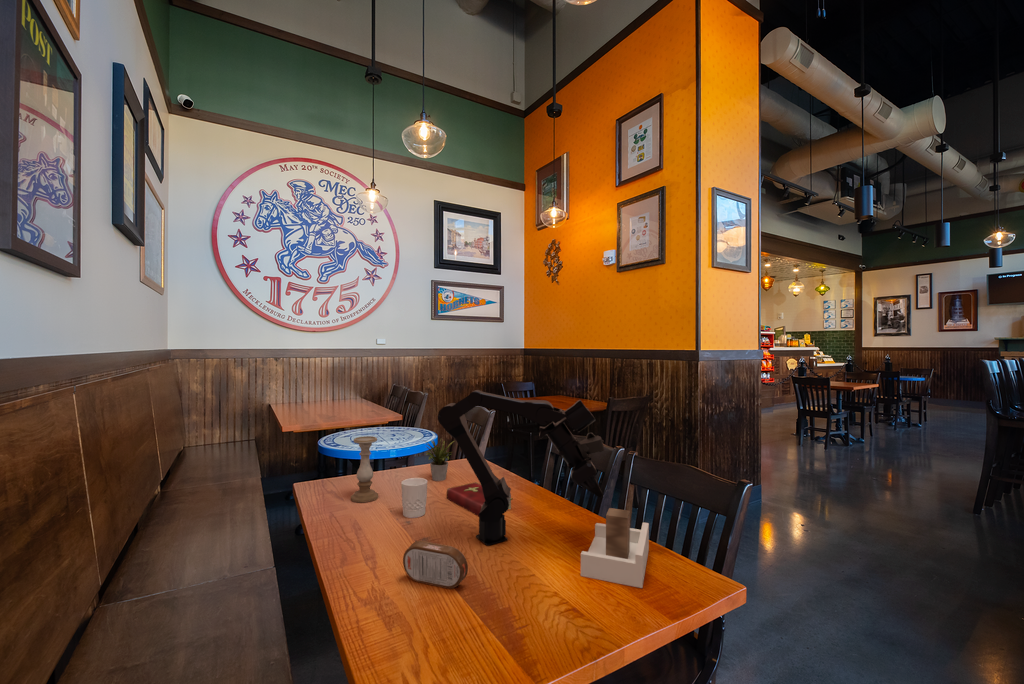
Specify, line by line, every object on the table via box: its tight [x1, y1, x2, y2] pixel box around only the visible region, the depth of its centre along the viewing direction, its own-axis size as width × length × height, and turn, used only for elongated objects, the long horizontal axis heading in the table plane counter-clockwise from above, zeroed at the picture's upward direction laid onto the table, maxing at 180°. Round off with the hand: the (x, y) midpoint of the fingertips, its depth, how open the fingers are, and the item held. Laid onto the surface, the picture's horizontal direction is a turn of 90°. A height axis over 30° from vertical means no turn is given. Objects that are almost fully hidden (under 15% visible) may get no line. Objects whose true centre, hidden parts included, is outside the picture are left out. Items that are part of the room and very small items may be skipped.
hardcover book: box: [446, 481, 513, 517], centre depth 145 cm, size 12×21×4 cm, turn 39°
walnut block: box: [605, 507, 631, 559], centre depth 107 cm, size 5×5×10 cm
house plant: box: [421, 439, 455, 482], centre depth 171 cm, size 14×14×16 cm
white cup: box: [400, 477, 428, 519], centre depth 136 cm, size 8×8×10 cm
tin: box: [402, 540, 469, 589], centre depth 97 cm, size 15×3×8 cm, turn 71°
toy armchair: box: [580, 522, 650, 589], centre depth 107 cm, size 14×19×7 cm
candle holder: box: [350, 435, 379, 504], centre depth 149 cm, size 9×9×20 cm
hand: (599, 490), depth 117 cm, fingers open, 9 cm apart
